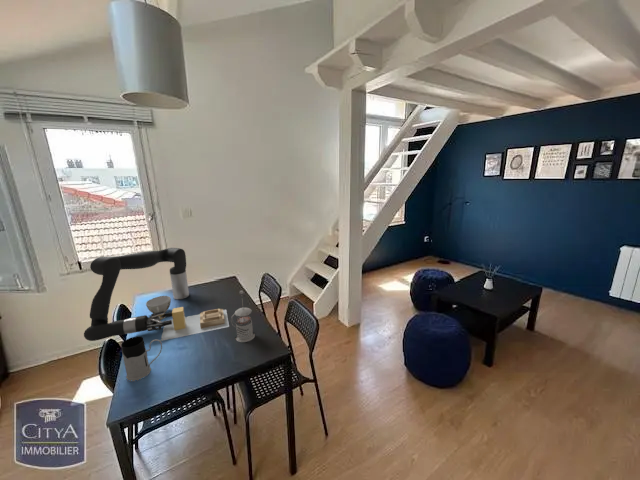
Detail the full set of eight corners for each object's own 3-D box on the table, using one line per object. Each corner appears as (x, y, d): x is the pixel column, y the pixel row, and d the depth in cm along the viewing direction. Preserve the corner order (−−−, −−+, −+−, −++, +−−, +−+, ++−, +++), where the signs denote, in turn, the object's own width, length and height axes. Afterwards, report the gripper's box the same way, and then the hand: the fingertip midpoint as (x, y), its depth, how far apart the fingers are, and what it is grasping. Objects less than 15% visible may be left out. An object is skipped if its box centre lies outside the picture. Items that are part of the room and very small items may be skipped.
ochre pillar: (175, 325, 147) (172, 308, 145) (185, 323, 149) (183, 306, 147) (174, 330, 143) (171, 313, 140) (185, 328, 145) (182, 311, 142)
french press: (249, 343, 134) (246, 296, 127) (228, 340, 136) (223, 294, 130) (258, 331, 143) (255, 287, 137) (237, 329, 145) (233, 285, 139)
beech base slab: (200, 317, 155) (199, 310, 154) (223, 313, 159) (222, 306, 158) (200, 328, 144) (199, 321, 143) (224, 323, 149) (224, 316, 148)
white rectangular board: (165, 322, 152) (165, 320, 152) (226, 310, 164) (226, 309, 164) (160, 342, 134) (160, 340, 134) (229, 328, 146) (229, 326, 146)
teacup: (149, 310, 165) (147, 297, 163) (172, 305, 171) (171, 293, 169) (146, 322, 152) (143, 309, 150) (171, 317, 157) (169, 304, 155)
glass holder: (128, 369, 116) (122, 338, 113) (166, 360, 122) (161, 330, 118) (123, 384, 109) (116, 351, 105) (164, 373, 114) (159, 341, 110)
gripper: (131, 325, 130) (170, 318, 136) (137, 311, 143) (172, 305, 149) (134, 339, 132) (172, 331, 138) (140, 324, 145) (174, 317, 151)
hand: (172, 317), depth 143 cm, fingers open, 8 cm apart
